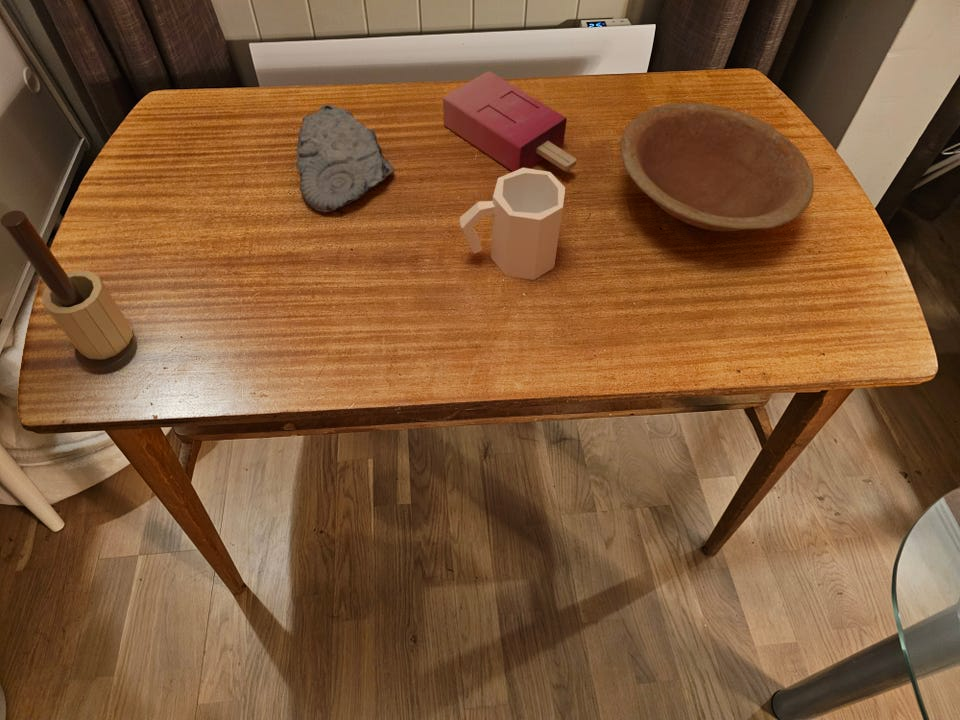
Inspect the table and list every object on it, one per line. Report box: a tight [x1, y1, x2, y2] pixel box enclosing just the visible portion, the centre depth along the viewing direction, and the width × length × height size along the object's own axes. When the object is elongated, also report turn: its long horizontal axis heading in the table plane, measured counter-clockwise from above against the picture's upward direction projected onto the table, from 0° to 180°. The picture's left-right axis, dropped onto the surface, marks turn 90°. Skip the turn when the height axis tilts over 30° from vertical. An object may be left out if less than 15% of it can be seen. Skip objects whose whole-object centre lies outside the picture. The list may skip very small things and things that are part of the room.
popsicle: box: [442, 70, 577, 172], centre depth 97 cm, size 9×5×20 cm
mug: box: [459, 168, 566, 281], centre depth 83 cm, size 12×9×10 cm
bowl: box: [619, 102, 815, 232], centre depth 89 cm, size 24×24×8 cm
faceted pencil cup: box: [41, 269, 133, 360], centre depth 74 cm, size 6×6×8 cm
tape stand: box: [0, 209, 138, 375], centre depth 70 cm, size 6×6×20 cm
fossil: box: [295, 104, 395, 213], centre depth 94 cm, size 13×18×4 cm
